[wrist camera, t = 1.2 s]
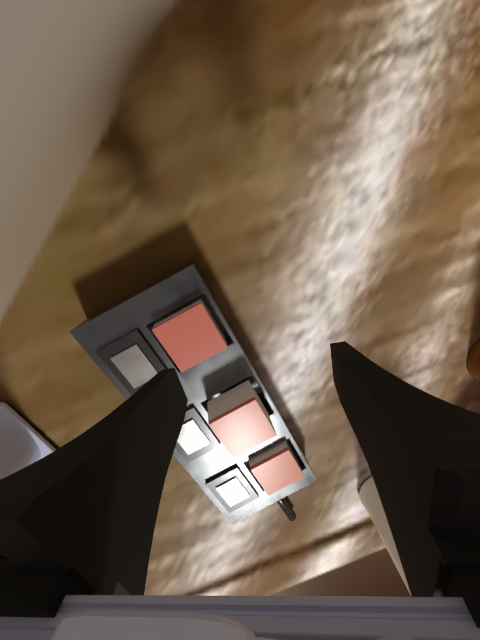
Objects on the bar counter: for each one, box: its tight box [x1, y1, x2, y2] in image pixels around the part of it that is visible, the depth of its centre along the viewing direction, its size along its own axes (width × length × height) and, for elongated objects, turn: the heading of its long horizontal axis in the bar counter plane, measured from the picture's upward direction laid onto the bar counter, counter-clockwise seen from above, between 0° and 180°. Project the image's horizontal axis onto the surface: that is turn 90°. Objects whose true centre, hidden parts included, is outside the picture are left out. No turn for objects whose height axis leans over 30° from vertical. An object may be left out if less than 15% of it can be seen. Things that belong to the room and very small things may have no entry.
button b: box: [207, 380, 277, 459], centre depth 21 cm, size 4×4×3 cm
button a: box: [248, 440, 305, 496], centre depth 26 cm, size 4×4×3 cm
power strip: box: [70, 261, 317, 525], centre depth 25 cm, size 10×32×4 cm, turn 27°
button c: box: [152, 295, 228, 372], centre depth 20 cm, size 4×4×3 cm
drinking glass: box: [359, 477, 412, 597], centre depth 26 cm, size 7×7×15 cm
